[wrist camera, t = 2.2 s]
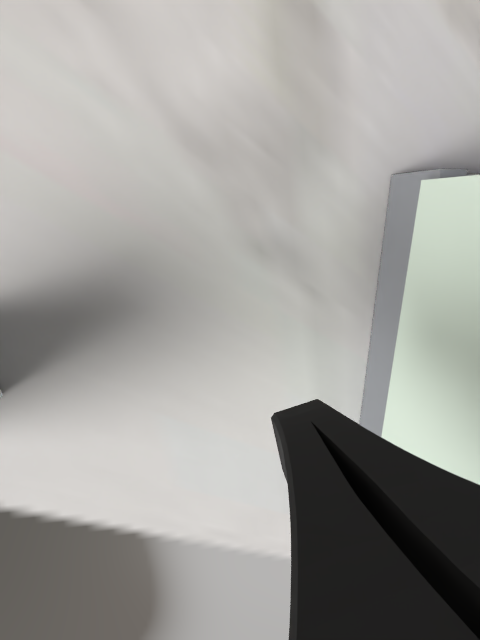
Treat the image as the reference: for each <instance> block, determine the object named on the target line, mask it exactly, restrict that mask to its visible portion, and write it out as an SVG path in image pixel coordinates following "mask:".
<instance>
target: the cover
mask: <svg viewBox="0 0 480 640" xmlns="http://www.w3.org/2000/svg"><path fill="white" fill-rule="evenodd" d="M381 437H382V438H384V439H385V440H387V441H389V442H391V443H392V444H394V445H396V446H398V447H400V448H402V449H404V450H405V451H407V452H409V453H411V454H413V455H415V456H417V457H419V458H421V459H423V460H425V461H427V462H429V463H431V464H433V465H435V466H438V467H440V468H442V469H444V470H446V471H448V472H451V473H453V474H455V475H457V476H460V477H462V478H465V479H467V480H469V481H472V482H474V483H476V484H479V485H480V175H471V176H460V177H449V178H439V179H428V180H421V186H420V192H419V199H418V205H417V211H416V218H415V224H414V231H413V237H412V243H411V250H410V256H409V263H408V269H407V276H406V282H405V288H404V295H403V301H402V308H401V314H400V320H399V327H398V333H397V340H396V346H395V352H394V359H393V365H392V372H391V378H390V385H389V391H388V397H387V404H386V410H385V417H384V423H383V429H382V436H381Z"/></svg>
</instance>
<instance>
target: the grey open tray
mask: <svg viewBox="0 0 480 640" xmlns="http://www.w3.org/2000/svg"><path fill="white" fill-rule="evenodd" d="M467 170H468V169H435V170H427V171H418V172H410V173H401V174H393V175H391V183H390V190H389V198H388V206H387V214H386V222H385V229H384V237H383V245H382V253H381V261H380V268H379V276H378V284H377V292H376V299H375V307H374V315H373V323H372V331H371V338H370V346H369V354H368V362H367V370H366V377H365V385H364V393H363V401H362V409H361V416H360V424H359V425H361V426H363V427H364V428H366V429H368V430H369V431H371V432H373V433H375V434H376V435H378V436H380V437H381V436H382V429H383V423H384V417H385V410H386V404H387V397H388V391H389V385H390V378H391V372H392V365H393V359H394V352H395V346H396V340H397V333H398V327H399V320H400V314H401V308H402V301H403V295H404V288H405V282H406V276H407V269H408V263H409V256H410V250H411V243H412V237H413V231H414V224H415V218H416V211H417V205H418V199H419V192H420V186H421V180H428V179H439V178H449V177H460V176H471V175H480V174H467Z"/></svg>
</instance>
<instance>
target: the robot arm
mask: <svg viewBox="0 0 480 640" xmlns="http://www.w3.org/2000/svg"><path fill="white" fill-rule="evenodd" d="M271 420H272V424H273V429H274V433H275V438H276V442H277V447H278V451H279V456H280V460H281V465H282V469H283V472H284V475H285V478H286V480H287V483H288V492H289V505H290V521H291V605H290V606H291V607H290V628H289V640H480V485H479V484H476V483H474V482H472V481H469V480H467V479H465V478H462V477H460V476H457V475H455V474H453V473H451V472H448V471H446V470H444V469H442V468H440V467H438V466H435V465H433V464H431V463H429V462H427V461H425V460H423V459H421V458H419V457H417V456H415V455H413V454H411V453H409V452H407V451H405V450H404V449H402V448H400V447H398V446H396V445H394V444H392V443H391V442H389V441H387V440H385V439H384V438H382V437H380V436H378V435H376V434H375V433H373V432H371V431H369V430H368V429H366V428H364V427H363V426H361V425H359V424H358V423H356V422H354V421H353V420H351V419H349V418H348V417H346V416H344V415H343V414H341V413H340V412H338V411H336V410H335V409H333V408H332V407H330V406H328V405H327V404H325V403H323V402H322V401H320V400H318V399H316V400H313V401H310V402H307V403H304V404H301V405H298V406H295V407H291V408H288V409H285V410H282V411H279V412H276V413H274V414H273V416H272V417H271Z"/></svg>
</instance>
